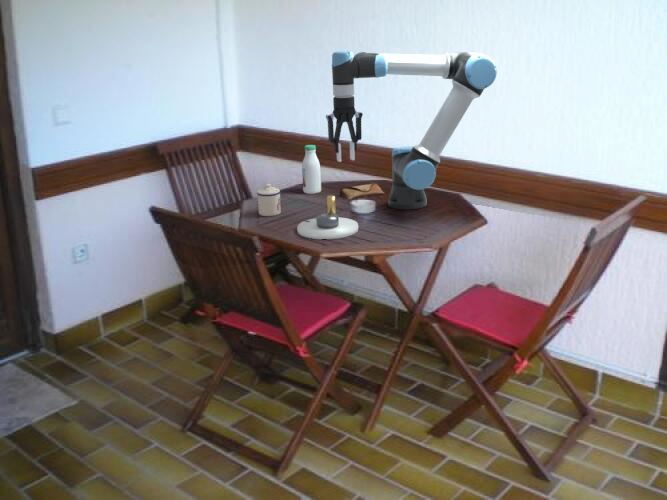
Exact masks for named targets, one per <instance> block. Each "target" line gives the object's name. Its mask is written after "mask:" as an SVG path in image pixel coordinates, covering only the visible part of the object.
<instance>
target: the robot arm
mask: <svg viewBox="0 0 667 500" xmlns="http://www.w3.org/2000/svg"><path fill="white" fill-rule="evenodd" d="M331 70H332V71H331V74H332V95H333V96H334V97H333V99H332V100H333V102H332V103H333V111H332V112H331V114H327V115H325V118H326V121H327V135H328V136H327V137H328V142H330V143H331V144H333V152H334V153H336V161H337V162H339V163H342V144H341V143H340V138H341V137H340V136H341V132H342V127H343V124H344V123H346V124H347V128H348V133H349V136H350V140H351V141H349V159H350V160H351V161H355V159H356V156H355V155H356V154H355V152H356V151H357V149H358V148H357V144H358V142H359V141H361V140H362V118H363V112H360V111H357V110H356V108H355V96H354V95H355V79H367V78H369V79H370V78H382V77H386V76H387V75H395V76H397V75H398V76H399V75H401V76H423V77H424V76H425V77H427V76H430V77H441V78H442V79H444V80H451V83H452V88H451V90H450V91H449V93H448V95H447V97H446V98H445V100H444V101H443V103H442V106H441V107H440V109H439V110H438V112H437V113H436V116H435V117H434V118H433V120H432V122H431V124H430V125H429V127H428V128H427V130H426V132H425V134H424V135H423V137H422V139H421V141H420V142H419V144H417V145H413V146H400V147H394V148H393V149H392V152H391V153H392V154H391V160H392V161H391V163H392V164H391V168H392V169H391V172H392V177H391V178H392V186H391V190H390V192H389V196H388V203H387V204H388V206H389V207H390V208H393V209H397V210H416V209H417V210H418V209H421V208H424V207H426V206H427V205H428V203H427V201H428V200H427V196H426V192H425V189H428V188H429V187H430V186H431V185H433V183H434V181H435V180H436V176H437V168H439V167H438V166H439V165H440V163H441V158H440V155H441V154H442V153H443V150H444V149H445V147H446V145H447V144H448V142H449V141H450V139H451V137H452V135H453V134H454V133H455V130H456V129H457V127H458V126H459V124H460V122H461V121H462V119H463V117H464V116H465V114H466V112H467V110H468V109H469V107H470V106H471V103H472V102H473V101H474V99H478V98H480V97H481V95H482V93H484V90H485V89H487V88H489V87H490V86H492V85H493V84H494V82H495V80H496V78H497V73H498V71H497V65H496V63H495V61H494V60H493V58H491V57H490V56H488V55H486V54H484V53H478V52H475V51H461V52H444V53H443V54H442V55H441V54H439V55H438V54H411V53H410V54H409V53H407V54H406V53H382V52H381V53H380V52H379V53H375V52H366V51H360V52H359V51H358V52H357V53H356V54H354V53H353V51H352V50H342V51H341V50H339V51H334V52H333V53H332V54H331ZM354 117H355V127H354V121H353V118H354ZM334 119H336V122H335V124H336V125H335V129H334Z"/></svg>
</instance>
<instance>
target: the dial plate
mask: <svg viewBox="0 0 667 500" xmlns="http://www.w3.org/2000/svg"><path fill="white" fill-rule="evenodd" d="M338 217H339V216H338ZM296 229H297V230H296V231H297V234H298V235H299V236H301V237H303V238H307V239H311V238H312V239H313V240H322V239H327V240H337V239H342V238H343V239H344V238H346V237H350V236H353V235H355V234H356V233H358V231H359V224H358V222H357V221H356V220H354V219H351V218H347V217H339V225H338V226H336V227H332V228H321V227H318V226H317V223H316V217H315V218H310V219H303V220H302V222H300V223H299V224H297V226H296Z"/></svg>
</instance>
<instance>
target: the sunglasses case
mask: <svg viewBox="0 0 667 500" xmlns="http://www.w3.org/2000/svg"><path fill="white" fill-rule="evenodd" d="M377 194H381V195H386V193H385V192H384V191H383V189H382V188H381V187H380V186H379V185H378V182H373V183H368V184H360V185H355V186H346V187H345V186H344V187H342V188H341V189H340V190H339V196H340V197H341V196H342V197H341V198H344V197H345V198H344V199H346V198H347V199H346V200H349V199H352V200H356V199H355V198H357V199H359V198H358V197H362V198H364V197H363V196H368V197H372V196H371V195H375V196H378V195H377Z"/></svg>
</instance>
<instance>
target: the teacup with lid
mask: <svg viewBox="0 0 667 500" xmlns="http://www.w3.org/2000/svg"><path fill="white" fill-rule="evenodd" d="M256 195H257V204H258V205H257V207H258V214H259V216H262V217H274V216H279V215H280V214H281V213H282V207H281V190H280V189H279V188H277V187H275V186H271V183H266V184H265V186H264V187H262V188H260V189H258V190H257V191H256Z"/></svg>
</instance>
